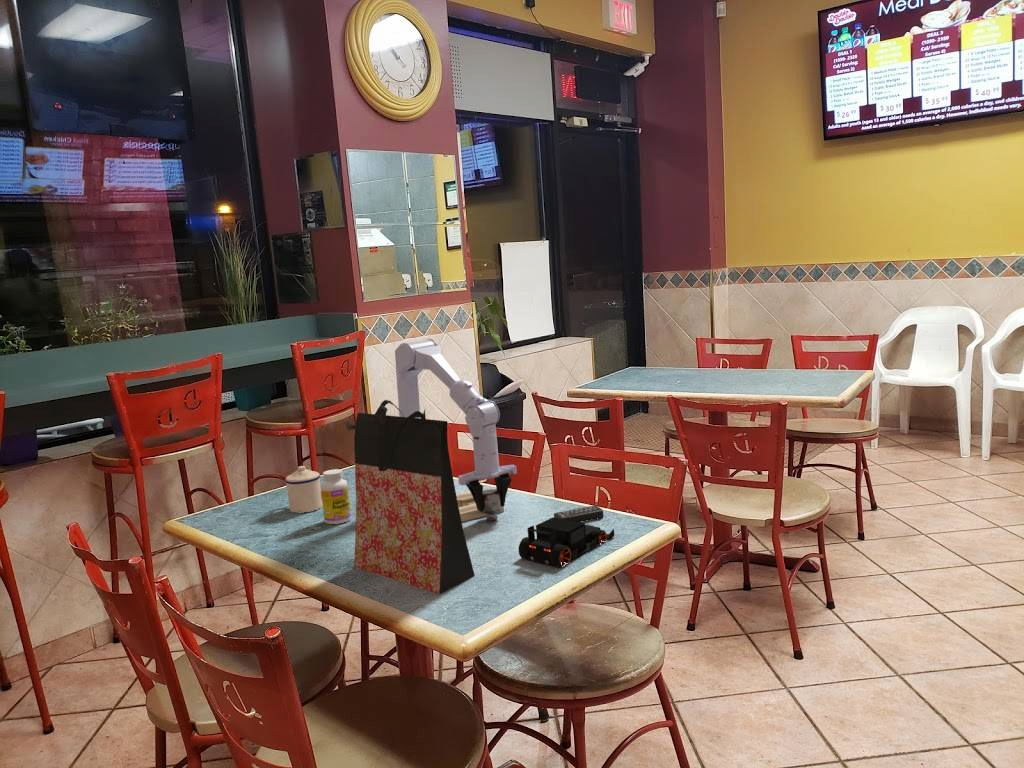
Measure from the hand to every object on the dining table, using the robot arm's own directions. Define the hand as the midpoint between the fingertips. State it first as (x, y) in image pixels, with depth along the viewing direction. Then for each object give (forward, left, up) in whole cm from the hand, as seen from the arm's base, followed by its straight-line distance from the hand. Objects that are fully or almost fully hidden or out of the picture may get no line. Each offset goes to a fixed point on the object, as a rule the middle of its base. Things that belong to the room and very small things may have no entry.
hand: (490, 508), depth 183 cm
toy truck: (+28, +5, -4) cm, 28 cm away
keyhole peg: (0, 0, -3) cm, 3 cm away
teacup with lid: (-44, -36, -3) cm, 57 cm away
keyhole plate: (-12, -3, -3) cm, 12 cm away
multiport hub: (+14, +16, -3) cm, 21 cm away
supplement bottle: (-26, -31, -3) cm, 40 cm away
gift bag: (+16, -27, -3) cm, 32 cm away
